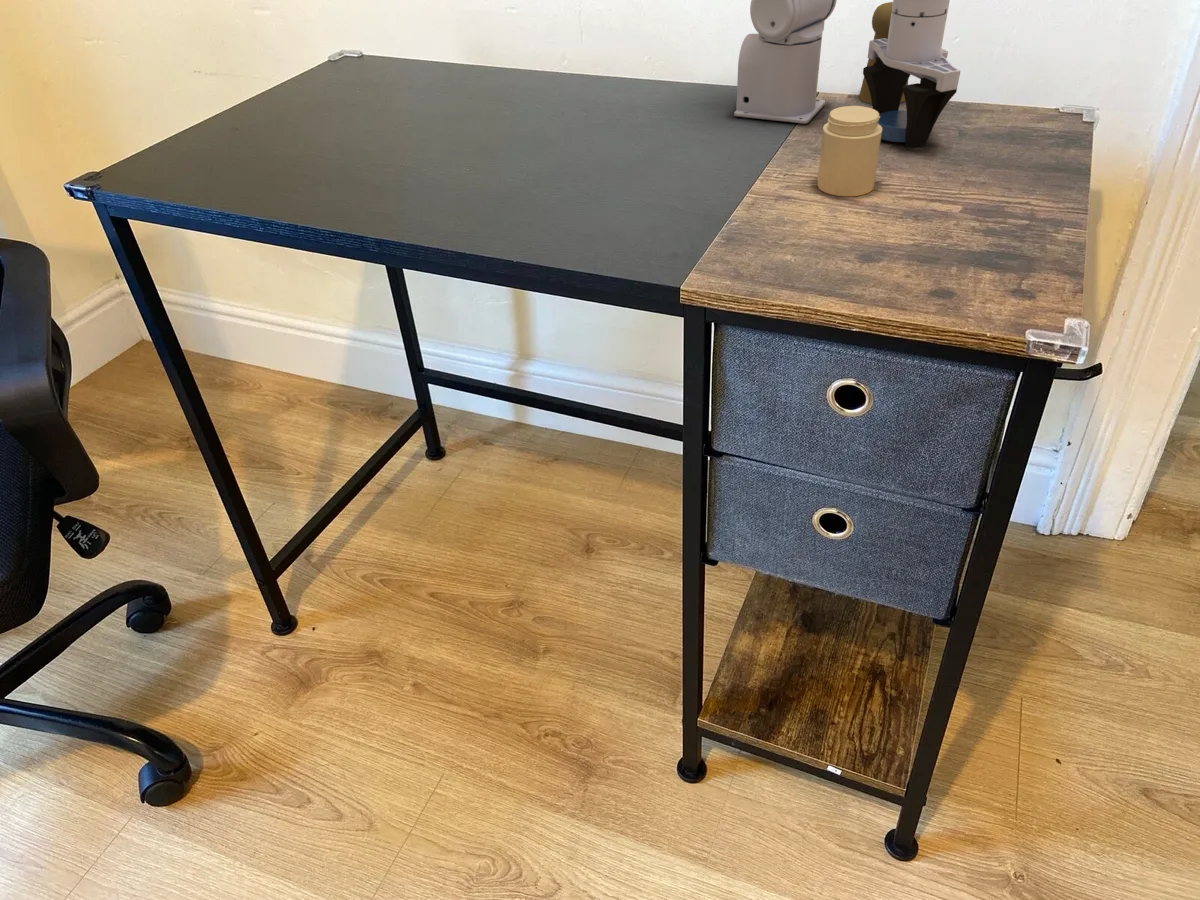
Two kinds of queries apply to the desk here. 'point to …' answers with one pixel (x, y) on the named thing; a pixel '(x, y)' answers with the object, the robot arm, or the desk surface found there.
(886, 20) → the olive cone figure
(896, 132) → the lid
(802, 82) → the robot arm
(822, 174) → the jar
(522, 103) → the desk surface
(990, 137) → the desk surface
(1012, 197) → the desk surface
